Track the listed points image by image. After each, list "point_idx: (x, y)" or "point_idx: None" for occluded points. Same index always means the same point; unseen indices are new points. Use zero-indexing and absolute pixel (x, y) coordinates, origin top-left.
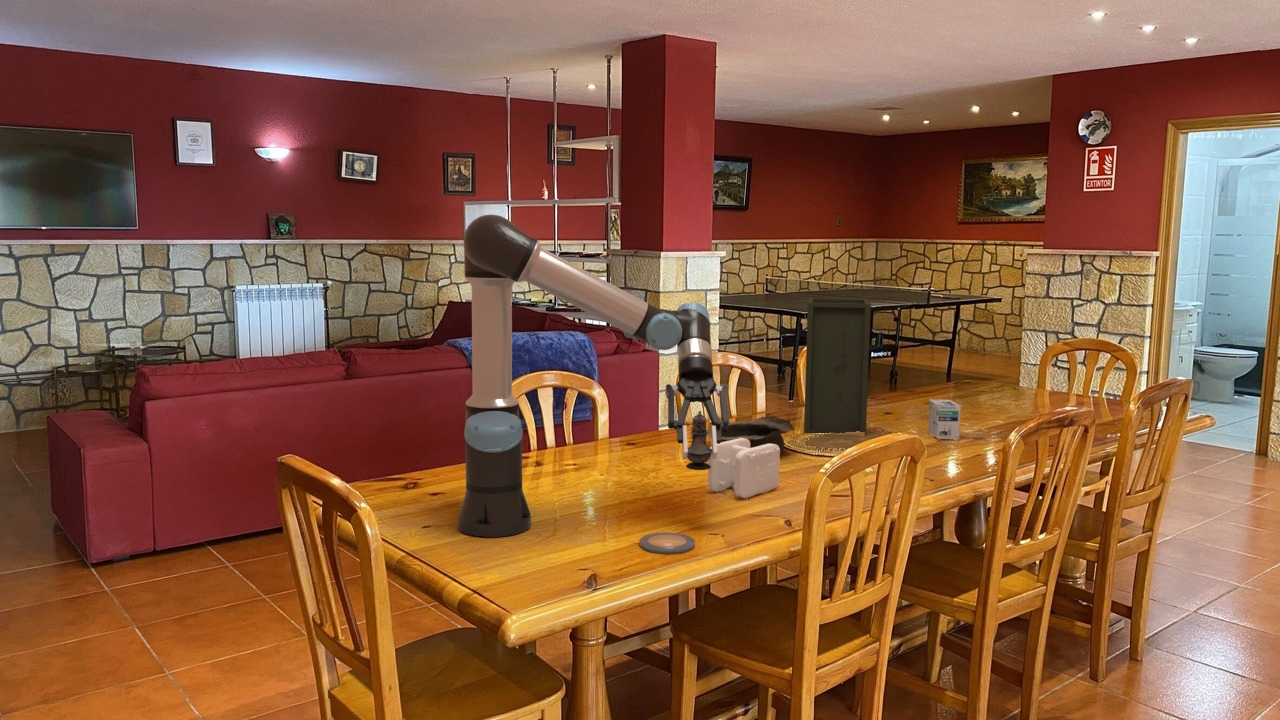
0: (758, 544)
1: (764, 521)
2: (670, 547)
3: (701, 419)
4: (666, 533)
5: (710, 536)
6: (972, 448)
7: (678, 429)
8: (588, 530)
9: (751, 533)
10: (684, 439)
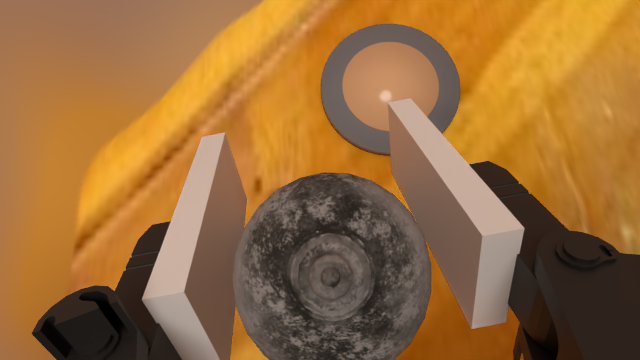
0: (168, 134)
1: None
2: (374, 43)
3: (295, 180)
4: None
5: (289, 174)
6: None
7: (546, 225)
8: (617, 166)
9: None
10: (439, 142)
